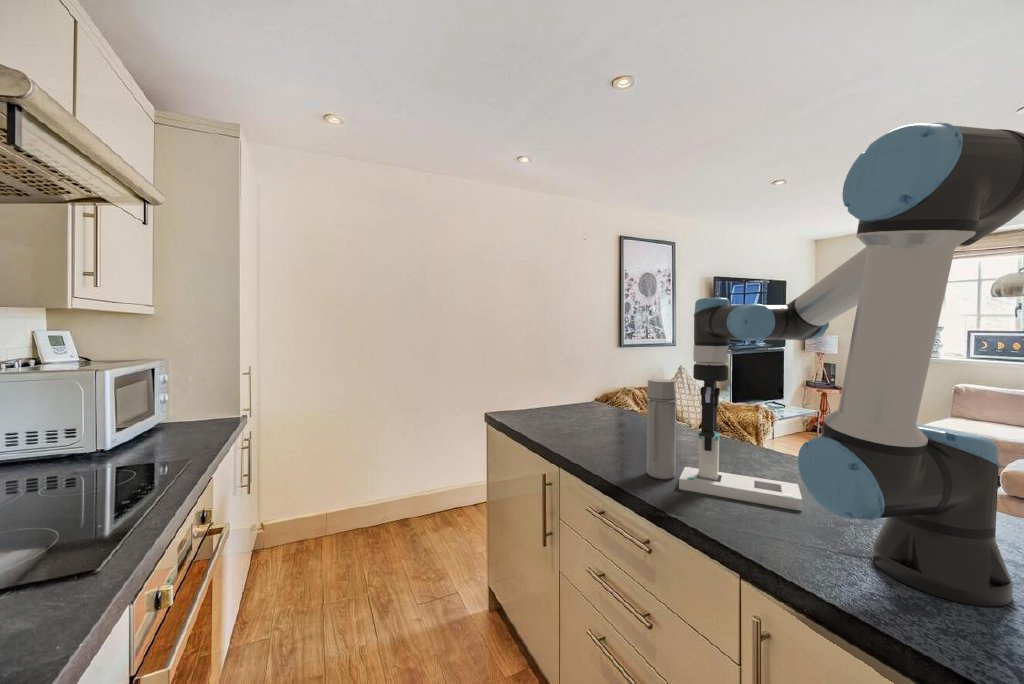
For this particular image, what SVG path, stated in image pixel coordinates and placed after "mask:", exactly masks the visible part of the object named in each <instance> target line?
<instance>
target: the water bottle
mask: <svg viewBox="0 0 1024 684" xmlns="http://www.w3.org/2000/svg"><path fill="white" fill-rule="evenodd" d="M645 401H646V403H647V405H646V409H647V410H646V411H647V412H646V473H647V474H648V475H649V476H650V477H652V478H653V479H658V480H670V479H674V477H675V476H676V470H677V469H676V468H677V467H676V466H677V465H676V459H677V458H676V457H677V456H676V455H677V401H678V398H677V391H676V381H675V380H672V379H667V378H666V379H665V378H652V379H651V378H650V379H648V380H647V388H646V397H645Z"/></svg>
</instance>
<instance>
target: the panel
mask: <svg viewBox="0 0 1024 684" xmlns="http://www.w3.org/2000/svg"><path fill="white" fill-rule="evenodd" d="M678 489H679V490H682V491H688V492H694V493H700V494H704V495H705V494H706V495H710V496H715V497H723V498H727V499H733V500H738V501H745V502H749V503H755V504H761V505H765V506H766V505H767V506H772V507H778V508H783V509H787V510H789V509H790V510H794V511H798V512H799V511H800V512H802V511H803V496H802V494H801V490H800V486H799V484H798V483H794V482H793V483H792V482H788V481H787V482H786V481H780V480H774V479H773V480H772V479H767V478H761V477H755V476H754V477H753V476H748V475H741V474H736V473H735V474H734V473H728V472H722V471H719V474H718V478H717V479H712V478H706V477H700V476H699V468H697V467H696V468H695V467H689V466H685V467H684V468H683V470H682V472H681V474H680V477H679V478H678Z"/></svg>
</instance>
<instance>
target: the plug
mask: <svg viewBox="0 0 1024 684" xmlns="http://www.w3.org/2000/svg"><path fill="white" fill-rule="evenodd" d="M699 433H701V431H700V432H699ZM714 434H715V436H714V437H715V462H714V465H710V464H704V463H702V436H699V435H697V436H696V450H697V451H698V469H699V476H700V477H706V478H712V479H717V478H718V474H719V472H720V470H719V467H720V466H719V463H720V432H717V433H714Z"/></svg>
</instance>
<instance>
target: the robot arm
mask: <svg viewBox="0 0 1024 684" xmlns="http://www.w3.org/2000/svg"><path fill="white" fill-rule="evenodd" d="M841 193H842V196H841V197H842V202H843V206H844V207H845V208H847V212H848V213H849V214H850V215H852V217H854V218H856V219H857V220H858V224H857V231H856V238H857V239H858V240H859V241H860V242H861V243H862V244H863V245H865V247H863V248H862V249H861V250H860V251H858V252H856V254H854V255H853V256H852V257H850V258H849V259H848V260H846V261H844V262H843V263H842V264H841V265H839V266H838V267H836V268H835V269H834V270H833V271H831V272H830V273H829V274H827V275H826V276H824V277H823V278H822V279H820V280H819V281H818V282H816V283H815V284H814V285H812V286H811V287H809V288H808V289H807V290H805V291H804V292H803V293H801V294H800V295H799V296H797V297H795V299H793V300H792V301H790V302H789V303H787V304H760V303H748V302H747V303H742V304H735V305H731V303H730V300H729V299H728V298H727V297H707V298H706V297H704V298H698V299H697V300H696V301H695V303H694V314H693V355H692V356H693V357H692V360H693V362H694V365H693V367H692V368H693V370H692V371H693V374H692V376H693V379H694V380H696V381H703V386H701V387H700V396H701V397H700V405H701V431H700V432H701V433H700V432H699V433H698V436H702V463H704V464H710V465H714V462H715V437H714V436H715V434H714V433H720V429H721V428H719V427H718V406H719V402H720V400H719V398H720V397H719V396H720V393H721V388H720V387H718V386H717V382H718V383H719V382H726V381H728V380H729V366H728V364H727V363H729V355H731V354H732V353H733V352H732V350H731V349H729V346H730V340H735V341H737V340H738V341H745V342H747V341H748V342H749V341H752V342H754V341H762V340H763V341H770V340H771V341H772V340H774V341H775V340H778V341H779V340H782V341H783V340H785V341H786V340H787V341H791V340H792V341H793V340H794V341H806V340H807V341H808V340H815V339H819V338H820V337H822V336H824V335H825V334H826V331H827V329H829V327H830V322H831V321H833V320H834V319H837V318H838V317H840V316H841V315H843V314H844V313H846V312H848V311H849V310H851V309H852V308H854V307H856V306H857V307H856V311H855V318H854V323H853V329H852V333H851V337H850V343H849V349H848V355H847V360H846V366H845V371H844V377H843V382H842V388H841V394H840V398H839V404H838V408H837V409H836V410H835V411H833V412H831V413H829V414H826V415H824V417H823V422H822V426H821V427H822V429H821V433H820V436H813V437H812V438H810V439H808V440H807V441H805V442H803V444H802V445H801V446H800V448H799V450H798V455H797V467H798V471H799V475H800V478H801V480H802V482H803V484H804V486H805V487H806V489H807V492H808V493H809V494H810V495H811V497H812V499H814V500H815V502H816V503H818V505H819V506H821V507H822V508H823V509H824V510H825V511H827V512H829V513H831V514H833V516H836V517H839V518H842V519H847V520H865V521H874V520H878V519H879V520H880V519H885V520H884V522H883V524H882V526H881V528H880V530H879V532H878V534H877V536H876V538H875V539H874V541H873V546H872V560H873V562H874V563H875V565H876V566H877V567H878V568H879V569H880V570H882V571H883V572H885V574H887V575H889V576H890V577H892V578H893V579H895V580H897V581H899V582H900V583H904V584H905V585H907V586H909V587H912V588H914V589H916V590H918V591H922V592H925V593H926V594H930V595H933V596H936V597H938V598H941V599H942V598H943V599H946V600H949V601H953V602H956V603H961V604H966V605H971V606H977V607H978V606H979V607H1002V606H1006V605H1009V604H1010V603H1012V601H1013V593H1014V592H1013V589H1014V588H1013V587H1014V586H1013V584H1014V583H1013V580H1012V578H1011V575H1010V573H1009V571H1008V567H1007V566H1006V564H1005V561H1004V558H1003V556H1002V553H1001V551H1000V549H999V545H998V544H997V539H996V538H997V537H996V535H997V534H996V532H997V531H996V530H997V528H996V527H997V509H998V508H997V506H998V491H999V490H998V488H999V487H998V486H999V469H1000V468H1001V464H1000V462H999V449H998V446H997V444H996V443H995V442H994V441H993V440H992V439H991V438H988V437H986V436H983V435H980V434H976V433H975V434H974V433H970V432H965V431H961V430H955V429H949V428H944V427H938V426H933V425H928V424H920V423H917V421H918V417H919V412H920V408H921V403H922V399H923V395H924V389H925V385H926V382H927V381H926V380H927V376H928V371H929V367H930V363H931V358H932V354H933V349H934V345H935V340H936V335H937V331H938V326H939V323H940V322H939V321H940V318H941V317H940V316H941V313H942V309H943V304H944V300H945V295H946V290H947V286H948V282H949V276H950V273H951V267H952V263H953V259H954V255H955V250H956V249H957V248H959V247H961V248H965V247H968V246H971V245H973V244H974V243H976V242H979V240H982V239H983V238H985V237H986V236H988V235H990V234H991V233H993V232H995V231H996V230H997V229H999V228H1001V227H1003V226H1004V225H1006V224H1007V223H1008V222H1010V221H1012V220H1013V219H1015V217H1017V216H1018V215H1019V214H1020V213H1022V212H1023V211H1024V132H1021V131H1017V130H1011V129H1002V128H999V129H996V128H995V129H994V128H993V129H991V128H985V127H984V128H983V127H975V126H974V127H973V126H966V125H965V126H963V125H953V124H951V123H947V122H935V123H913V124H907V125H903V126H900V127H897V128H895V129H892V130H889V131H888V132H886V133H885V134H883V135H881V136H880V137H878V138H876V139H875V140H874V141H872V142H871V143H870V144H869V146H868V147H867V148H866V150H865V151H863V152H861V153H860V154H859V155H858V156H857V158H856V159H855V160H854V162H853V164H852V165H851V167H850V168H849V170H848V172H847V175H846V177H845V180H844V183H843V186H842V192H841Z"/></svg>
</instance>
